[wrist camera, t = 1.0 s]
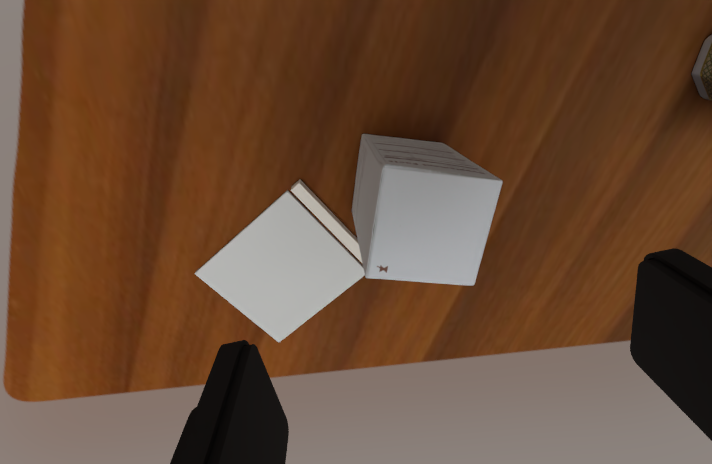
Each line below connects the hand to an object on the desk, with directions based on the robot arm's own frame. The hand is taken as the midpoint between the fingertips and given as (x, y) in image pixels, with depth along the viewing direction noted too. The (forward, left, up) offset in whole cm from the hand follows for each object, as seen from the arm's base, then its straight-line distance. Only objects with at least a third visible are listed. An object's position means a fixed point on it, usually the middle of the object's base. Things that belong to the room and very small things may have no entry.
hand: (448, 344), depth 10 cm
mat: (+13, +4, -26) cm, 30 cm away
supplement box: (-1, +4, -26) cm, 27 cm away
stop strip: (+6, +4, -26) cm, 27 cm away
